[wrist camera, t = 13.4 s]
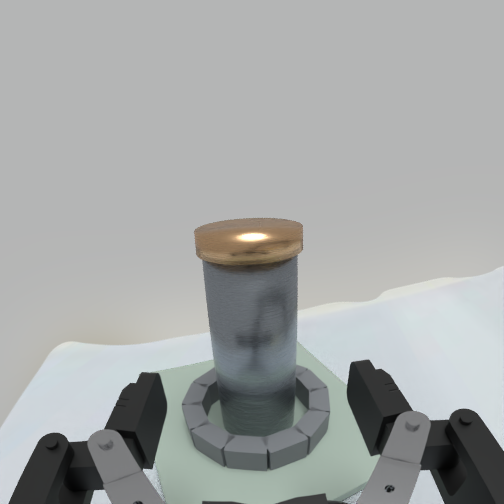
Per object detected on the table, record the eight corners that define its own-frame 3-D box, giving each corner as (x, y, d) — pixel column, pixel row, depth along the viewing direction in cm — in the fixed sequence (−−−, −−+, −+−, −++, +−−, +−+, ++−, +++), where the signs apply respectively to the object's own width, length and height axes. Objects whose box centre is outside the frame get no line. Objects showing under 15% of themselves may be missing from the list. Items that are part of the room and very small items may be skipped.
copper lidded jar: (276, 386, 24) (272, 215, 20) (312, 429, 19) (324, 229, 15) (209, 405, 22) (185, 225, 18) (234, 457, 17) (210, 245, 13)
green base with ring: (294, 346, 32) (294, 321, 31) (415, 454, 16) (427, 427, 15) (141, 382, 26) (134, 356, 25) (185, 555, 10) (172, 538, 9)
